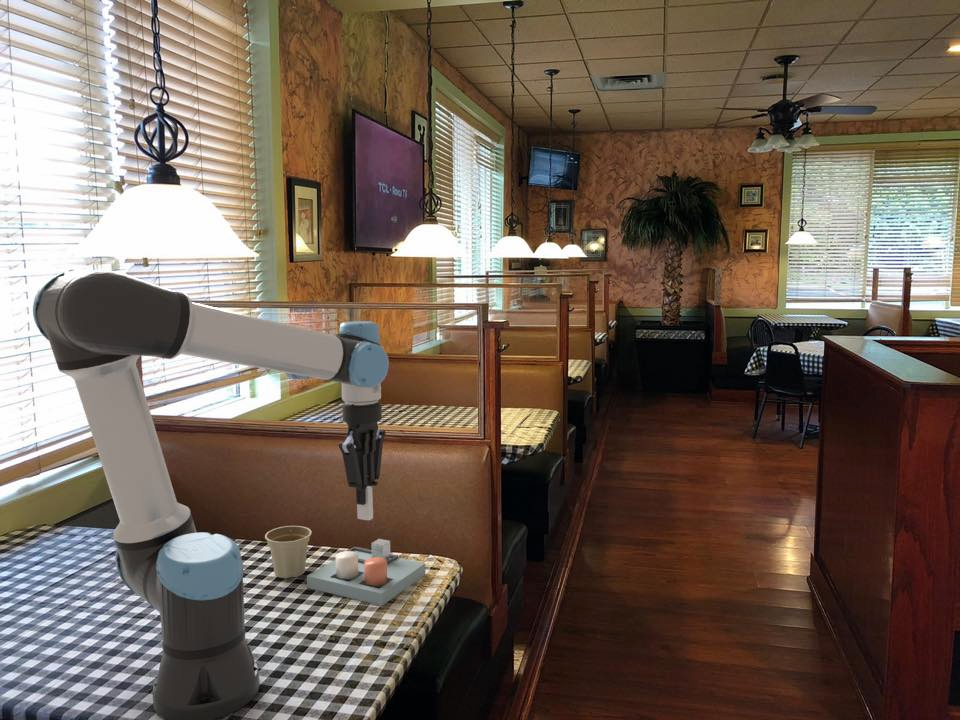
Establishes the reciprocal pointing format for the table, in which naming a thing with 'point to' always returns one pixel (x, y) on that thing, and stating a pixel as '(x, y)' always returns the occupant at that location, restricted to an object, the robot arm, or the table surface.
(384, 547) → the grey stone cube
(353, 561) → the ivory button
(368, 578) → the salmon orange egg
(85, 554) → the table surface
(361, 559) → the panel
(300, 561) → the flower pot
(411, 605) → the table surface
